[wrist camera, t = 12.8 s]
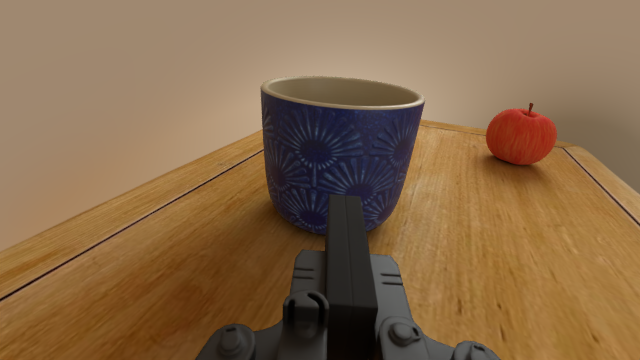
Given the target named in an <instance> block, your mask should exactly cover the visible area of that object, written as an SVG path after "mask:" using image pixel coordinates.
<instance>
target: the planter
mask: <svg viewBox="0 0 640 360" xmlns="http://www.w3.org/2000/svg"><path fill="white" fill-rule="evenodd" d="M424 103H425V98H424V97H423V96H422V95H421V94H420V93H418V92H416V91H414V90H411V89H408V88H405V87H401V86H397V85H393V84H388V83H382V82H377V81H369V80H362V79H353V78H342V77H322V76H320V77H319V76H299V77H285V78H277V79H272V80H269V81H267V82H264V83H263V84H262V85H261V104H262V125H263V143H264V158H265V170H266V178H267V185H268V190H269V194H270V198H271V200H272V203H273V205H274V207H275V208H276V210H277V211H278V212H279V214H280V215H281V216H282V217H283V218H285V219H286V220H287V221H288V222H290V223H292V224H293V225H295V226H297V227H299V228H301V229H303V230H306V231H309V232H312V233H316V234H321V235H326V226H327V214H328V203H329V194H333V195H346V196H359V197H361V203H362V210H363V216H364V222H365V228H366V231H369V230H372V229H374V228H376V227H377V226H379V225H380V224H382V223H383V222H384V221H385V220H386V219H387V218H388V217H389V216H390V215H391V213H392V212H393V210H394V208H395V206H396V204H397V202H398V199H399V196H400V194H401V191H402V188H403V185H404V181H405V178H406V174H407V171H408V167H409V163H410V159H411V155H412V151H413V148H414V144H415V140H416V136H417V132H418V127H419V123H420V119H421V115H422V111H423V107H424Z"/></svg>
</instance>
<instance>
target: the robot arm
mask: <svg viewBox="0 0 640 360" xmlns="http://www.w3.org/2000/svg"><path fill="white" fill-rule="evenodd" d="M195 360H501V359H500V358H499V357H498V356H497V355H496V354H495V353H494V352H493V351H492V350H490V349H489V348H487V347H486V346H484V345H482V344H480V343H477V342H474V341H463V342H461V343H458V344H457V346H456V348H453V347H450V346H448V345H445V344H442V343H440V342H437V341H435V340H433V339H431V338H429V337H428V336H426V335H425V334H423V332H422V330H421V328H420V327H419V326H418V325H417V324H416V323H415V322H414V321H413V318H412V315H411V311H410V308H409V304H408V300H407V297H406V293H405V289H404V286H403V282H402V278H401V275H400V271H399V268H398V265H397V263H396V262H395V261H394V260H393V258H392V257H391V256H390V255H377V254H370V253H369V246H368V240H367V234H366V228H365V222H364V216H363V210H362V203H361V197H359V196H346V195H333V194H329V203H328V214H327V226H326V237H325V251H314V250H302V251H301V252H300V253H299V254H298V256H297V257H296V259H295V265H294V271H293V278H292V283H291V289H290V295H289V296H288V297H287V298H286V299H285V302H284V304H283V319H282V320H281V321H280V322H279V323H277V324H276V325H274V326H272V327H270V328H267V329H263V330H259V331H254V332H252V330H251V329H250V328H248V327H247V326H245V325H242V324H230V325H226V326H224V327H222V328H220V329H218V330H217V331H216V332H215V333H214V334H213V335H212V336H211V337H210V338H209V340H208V341H207V343H206V344H205V346H204V347H203V348H202V350H201V351H200V353H199V354H198V356H197V357H196V359H195Z"/></svg>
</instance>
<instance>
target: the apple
mask: <svg viewBox="0 0 640 360" xmlns="http://www.w3.org/2000/svg"><path fill="white" fill-rule="evenodd" d="M532 107H533V104H532V103H530V107H529V110H526V109H508V110H505V111H502V112H501V113H499V114H498V115H496V116H495V117H494V118H493V120H492V121H491V122H490V124H489V126H488V129H487V133H486V142H487V145H488V148H489V150H490V151H491V152H492V154H493V155H495V156H496V157H497V158H499V159H501V160H505V161H507V162H510V163H513V164H517V165H527V164H532V163H535V162H538V161H540V160H541V159H543V158H544V157H545V156H546V155H547V154H549V152H550V151H551V150H552V148H553V147H554V145H555V142H556V138H557V131H556V127H555V125H554V123H553V122H552V121H551V120H550V119H548V118H547V117H545V116H542V115H540V114H538V113H535V112H532V111H531V109H532Z"/></svg>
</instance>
